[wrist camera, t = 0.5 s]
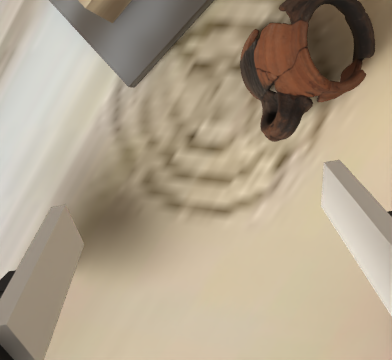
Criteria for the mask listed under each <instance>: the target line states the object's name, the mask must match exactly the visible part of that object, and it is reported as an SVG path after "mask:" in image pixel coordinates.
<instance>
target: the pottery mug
mask: <svg viewBox="0 0 392 360" xmlns="http://www.w3.org/2000/svg"><path fill="white" fill-rule="evenodd" d="M323 4H331V5H334V6H335V7H336V8H337V9H338V10H339V11H340V12H341V13H343V14H344V15H345V19H346V21H347V23H348V25H349V27H350V29H351V31H352V35H353V38H354V54H353V62H352V64H351V65H349V66H348V67H347V68H346V69H345V70H344V71H343V72H342V74H341V79H340V82H334V81H329V80H328V79H326V78H325V77H324V76H323V75H322V74H321V73H320V72H319V71H318V70H317V68H316V67H315V65H314V63H313V61H312V59H311V57H310V54H309V50H308V48H307V45H308V44H307V32H308V25H309V24H308V22H309V20H310V18H311V16H312V14H313V13H314V11H315V10H316V9H317V8H318V7H319V6H321V5H323ZM279 10H280V11H286V13H287V14H288V16H289V17H290V21H291V23H292V24H286V23H283V24H281V23H269V24H268V25H267V26H266V27H265V28H264V29H263V30H262V32H261V35H260V38H259V39H256V37H257V35H258V33H259V31H258V30H257V29H255V30H253V32H252V33H251V34H250V36H249V38H248V39H247V41H246V43H245V45H244V47H243V50H242V54H241V61H240V68H241V75H242V78H243V81H244V84H245V86H246V87H247V89H248V90H249V91H250V93H251V94H252V95H253V96H254V97H255V98H257V99H259V100H261V101H262V107H263V115H262V118H261V131H262V132H263V133H264V134H265V136H266V137H267V138H268V139H269V140H271V141H274V142H275V141H279V140H283V139H286V138H288V137H289V136H291V135H292V134H293V133H294V131H295V130H296V128H297V127H298V125H299V123H300V121H301V117H302V115H303V114H304V113H305V112H307V111H308V110H309V109H310V108H311V107H312V104H313V102H312V100H311V99H310V98H308V97H314V96H318V97H317V101H318V102H324V101H328V100H331V99H334V98H337V97H338V96H340V95H342V94H343V93H345V92H347V91H350V90H352V89H354V88H355V87H357V86H358V85H359V84H360V83H361V82H362V81H363V80H364V78H365V76H366V73H365V72H364V71H363V70H360V69H361V65H362V61H363V59H365V58H370V57H372V56H373V55H374V52H375V39H374V31H373V27H372V23H371V20H370V18H369V16H368V14H367V13H366V12H365V9H364V7H363V6H362V4H361V3H360V2H359V1H357V0H286V1H285V2H283V3H282V4H281V5H280V7H279ZM255 39H256V40H255ZM272 84H274V85H275V89H276V91H277V93H276V92H274V91H271V90H270V89H269V88H270V87H271V86H272Z"/></svg>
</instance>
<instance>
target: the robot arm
mask: <svg viewBox="0 0 392 360" xmlns="http://www.w3.org/2000/svg"><path fill="white" fill-rule="evenodd" d="M321 207H322V209H323V210H324V212H325V213H326V215H327V216H328V218H329V220H330V221H331V223H332V224H333V226H334V227H335V229H336V231H337V232H338V234H339V235H340V237H341V238H342V240H343V241H344V243H345V245H346V246H347V248H348V249H349V251H350V252H351V254H352V255H353V257H354V259H355V260H356V262H357V263H358V265H359V266H360V268H361V270H362V271H363V273H364V274H365V276H366V277H367V279H368V280H369V282H370V284H371V285H372V287H373V288H374V290H375V291H376V293H377V294H378V296H379V298H380V299H381V301H382V302H383V304H384V305H385V307H386V309H387V310H388V312H389V313H390V315H391V316H392V211H389V212H387V211H386V210H385V209H384V208H383V207H382V206H381V205H380V204H379V202H378V201H377V200H376V199H375V198H374V197H373V196H372V195H371V194H370V193H369V191H368V190H367V189H366V188H365V187H364V186H363V185H362V184H361V183H360V182H359V181H358V179H357V178H356V177H355V176H354V175H353V174H352V173H351V172H350V171H349V170H348V168H347V167H346V166H345V165H344V164H343V163H342V162H341V161H340V160H335V161H329V162H324V170H323V185H322V200H321ZM83 247H84V242H83V240H82V238H81V236H80V234H79V231H78V229H77V227H76V225H75V223H74V221H73V219H72V217H71V215H70V213H69V211H68V209H67V206H66V205H61V206H55V207H51V208H50V210H49V212H48V214H47V215H46V217H45V219H44V221H43V223H42V224H41V226H40V228H39V230H38V232H37V233H36V235H35V237H34V239H33V241H32V242H31V244H30V246H29V248H28V250H27V251H26V253H25V255H24V257H23V259H22V260H21V262H20V264H19V266H18V268H17V270H15V271H9V272H8V273H7V274H6V275H5V276H4V277H3V278H2V279H1V280H0V360H44V358H45V355H46V352H47V349H48V346H49V344H50V341H51V338H52V335H53V332H54V329H55V326H56V324H57V321H58V318H59V315H60V312H61V309H62V307H63V304H64V301H65V298H66V295H67V292H68V289H69V287H70V284H71V281H72V278H73V275H74V272H75V269H76V267H77V264H78V261H79V258H80V255H81V252H82V249H83Z"/></svg>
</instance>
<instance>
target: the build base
mask: <svg viewBox="0 0 392 360" xmlns="http://www.w3.org/2000/svg"><path fill="white" fill-rule="evenodd" d="M49 1H50V2H51V3H52V4H53V5H54V6H55V7H56V8H57V9H58V11H59V12H60V13H61V14H62V15H63V16H64V17H65V18H66V19H67V20H68V21H69V23H70V24H71V25H72V26H73V27H74V28H75V29H76V30H77V31H78V32H79V33H80V35H81V36H82V37H83V38H84V39H85V40H86V41H87V42H88V43H89V44H90V45H91V47H92V48H93V49H94V50H95V51H96V52H97V53H98V54H99V55H100V56H101V57H102V59H103V60H104V61H105V62H106V63H107V64H108V65H109V66H110V67H111V68H112V69H113V70H114V72H115V73H116V74H117V75H118V76H119V77H120V78H121V79H122V80H123V81H124V82H125V84H126V85H127V86H128V87H135V86H136V85H137V84H138V83H139V82H140V81H141V79H142V78H143V77H144V76H145V75H146V74H147V73H148V72H149V71H150V70H151V69H152V67H153V66H154V65H155V64H156V63H157V62H158V61H159V60H160V59H161V58H162V56H163V55H164V54H165V53H166V52H167V51H168V50H169V49H170V48H171V47H172V46H173V44H174V43H175V42H176V41H177V40H178V39H179V38H180V37H181V36H182V35H183V33H184V32H185V31H186V30H187V29H188V28H189V27H190V26H191V25H192V24H193V23H194V21H195V20H196V19H197V18H198V17H199V16H200V15H201V14H202V13H203V12H204V10H205V9H206V8H207V7H208V6H209V5H210V4H211V3H212V2H213V1H214V0H49Z"/></svg>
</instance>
